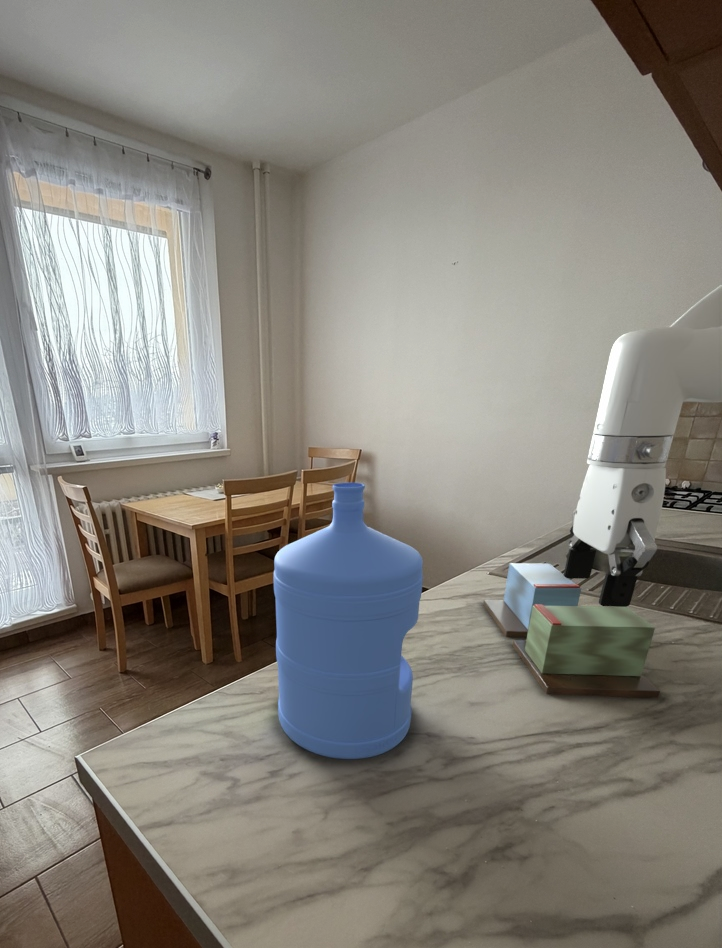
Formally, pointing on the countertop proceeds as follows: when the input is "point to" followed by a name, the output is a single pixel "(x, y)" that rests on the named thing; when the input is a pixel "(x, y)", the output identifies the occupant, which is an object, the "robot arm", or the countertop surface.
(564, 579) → the far tissue box
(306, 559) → the water jug
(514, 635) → the dark brown base plate
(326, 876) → the countertop surface
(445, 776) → the countertop surface
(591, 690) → the brown wooden board
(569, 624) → the near tissue box
